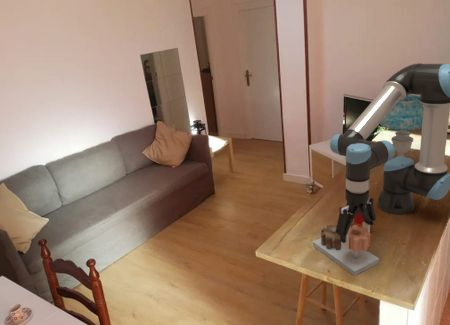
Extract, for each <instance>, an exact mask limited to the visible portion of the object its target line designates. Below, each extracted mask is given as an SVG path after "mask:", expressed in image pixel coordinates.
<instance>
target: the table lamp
mask: <svg viewBox="0 0 450 325" xmlns="http://www.w3.org/2000/svg"><path fill="white" fill-rule="evenodd" d="M423 110H424V105H423V104H422V103H421V102H420V95H416V94H410V95H407V96H406V97H405V98H404V99H403V100H401V101H398V103H397V104H396V105H395V106H394V107H393V108H392V110H391V111H390V112H389V113H388V114H387V115H386V117H385V118H384V119H383V120H382V121H381V123H380V124H379V125H380V126H381V127H382V128H386V129H388V130H394V131H395V130H396V131H395V133H394V136H392V137H391V139H390V140H391V142H392V143H391V144H392V145H393V146H394V149H395V153H397V156H395V157H394V158H399V157H405V158H407V157H406V155H405V154H406V153H407V152H409V150H410V149H411V147H412V143H413V142H414V138H413V137H412V136H411V132H410V131H416V130H422V122H423Z"/></svg>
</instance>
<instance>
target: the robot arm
mask: <svg viewBox="0 0 450 325" xmlns="http://www.w3.org/2000/svg"><path fill="white" fill-rule="evenodd" d="M407 95H417V96H420V102H421V103H422V104H423V107H424V110H423V122H422V129H421V133H420V134H421V136H420V137H421V138H420V148H419V156H418V157H419V160H418V162H415V161H414V159H413V158H411V157H410V158H409V157H406V156H405V157H406V158H405V157H399V158H395V157H394V156H395V154H396V151H395V149H394V146H393V143H391V142H390V141H388V140H385V139H384V140H378V141H375V142H374V141H370V140H367V139H368V138H369V137H370V136H371V134H372V133H373V132H374V131H375V130H376V128H377V127H378V126H379V125H380V123H381V121H382V120H383V119H384V118H385V117H386V115H387V114H388V113H389V112H390V111H391V110H392V108H393V107H394V106H395V105H396V104H397V103H398V101H401V100H403V99H404V98H405V97H406V96H407ZM449 121H450V64H449V63H421V62H420V63H414V64H413V63H412V64H409V65H407V66H405V67H403V68H402V69H400V70H398V71H397V72H395V73H393V75H391V76H390V77H389V78H388V79H387V80H386V81H385V82H384V84H383V85H382V90H380V92H379V93H378V94H377V95H376V97H375V98H374V99H373V100H372V101H371V102H370V103H369V105H368V106H367V107H366V108H365V109H364V110H363V112H362V113H361V114H360V115H359V116H358V118H356V119H355V120H354V121H353V123H352V124H351V126H349V128H348V129H347V130H346V131H344V133H336V134H334V135H333V136H332V138H331V139H330V142H329V148H330V150H331V151H332V153H335V154H336V155H339V156H343V157H345V190H344V191H345V193H344V194H345V196H344V197H345V200H346V204H345V206H344V207H343V206H342V207H339V209H338V210H339V212H338V213H339V215H338V218H337V224H336V226H337V227H336V226H335V227H336V233H337V234H339V235H340V241H341V248H343V249H344V250H346V251H348V247H349V235H348V234H347V233H348V230H349V228H350V227H352V226H351V225H352V223H353V222H354V221H353V220H354V218H355V217H356V215H357V214H358V213H361V215H362V217H363V219H364V221H365V222H363V226H362V228H363V227H364V228H366V229H367V232H370V231H371V229H372V228H371V227H372V226H373V225H374V223H375V222H376V218H377V217H376V213H375V208H374V198H373V197H371V196H370V182H371V181H370V179H371V178H370V176H371V175H370V174H371V170H372V169H374V168H377V167H378V166H381V165H383V164H384V166H383V175H382V176H383V182H382V190H381V192H380V195H379V197H378V200H377V206H378V208H379V209H380V210H382V211H384V212H387V213H390V214H395V215H406V214H410V213H411V212H413V211H414V210H415V202H414V197H413V195H412V193H413V194H416V195H418V196H422V197H423V198H424V197H425V198H427V199H432V200H434V201H435V200H436V201H439V200H441V199H443V198H444V197H445V196H446V195H447V194H448V193H449V191H450V173H448V168H449V167H448V166H447V164H445V155H446V147H447V138H448V136H447V135H448V129H449ZM365 205H366V206H365ZM370 233H371V232H370Z"/></svg>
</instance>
